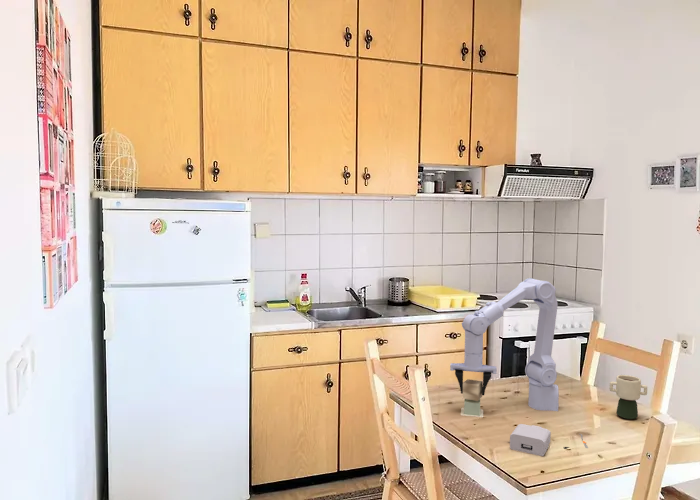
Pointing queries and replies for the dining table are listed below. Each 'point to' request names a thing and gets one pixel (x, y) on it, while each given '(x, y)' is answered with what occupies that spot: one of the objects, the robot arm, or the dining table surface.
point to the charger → (530, 439)
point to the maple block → (472, 389)
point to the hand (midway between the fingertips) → (472, 393)
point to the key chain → (583, 442)
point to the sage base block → (472, 407)
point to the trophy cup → (628, 395)
